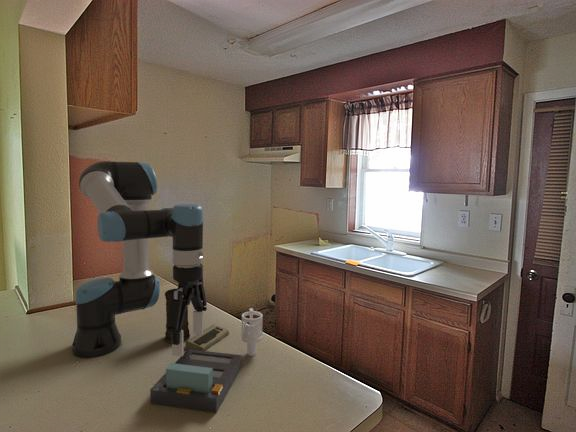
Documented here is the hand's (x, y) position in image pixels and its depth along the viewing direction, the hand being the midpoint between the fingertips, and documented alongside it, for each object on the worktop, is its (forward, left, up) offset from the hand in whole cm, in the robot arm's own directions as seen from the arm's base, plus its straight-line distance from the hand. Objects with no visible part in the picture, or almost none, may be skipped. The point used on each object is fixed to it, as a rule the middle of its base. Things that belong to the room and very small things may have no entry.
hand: (188, 343), depth 93 cm
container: (-20, +32, -16) cm, 42 cm away
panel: (0, 0, -15) cm, 15 cm away
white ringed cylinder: (+10, +27, -16) cm, 33 cm away
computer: (-8, +33, -17) cm, 38 cm away
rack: (0, +7, -16) cm, 18 cm away
